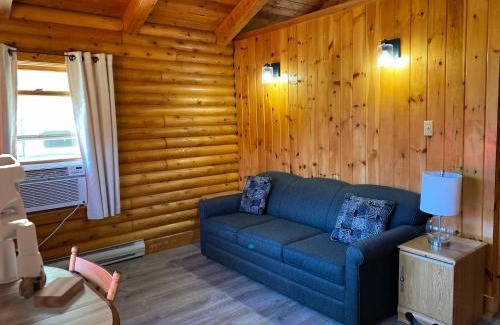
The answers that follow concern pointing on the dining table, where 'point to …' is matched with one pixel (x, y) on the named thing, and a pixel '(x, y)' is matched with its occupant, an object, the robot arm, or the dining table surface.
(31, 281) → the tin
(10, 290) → the dining table surface
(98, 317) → the dining table surface
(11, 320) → the dining table surface
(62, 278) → the walnut block
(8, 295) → the dining table surface
